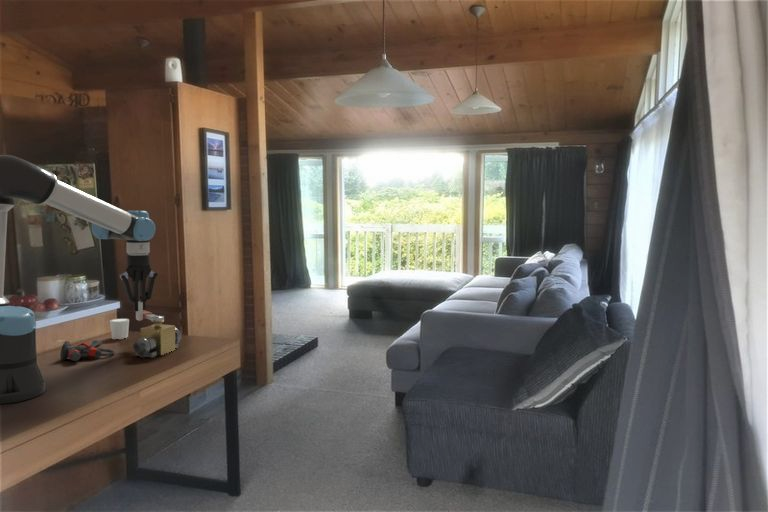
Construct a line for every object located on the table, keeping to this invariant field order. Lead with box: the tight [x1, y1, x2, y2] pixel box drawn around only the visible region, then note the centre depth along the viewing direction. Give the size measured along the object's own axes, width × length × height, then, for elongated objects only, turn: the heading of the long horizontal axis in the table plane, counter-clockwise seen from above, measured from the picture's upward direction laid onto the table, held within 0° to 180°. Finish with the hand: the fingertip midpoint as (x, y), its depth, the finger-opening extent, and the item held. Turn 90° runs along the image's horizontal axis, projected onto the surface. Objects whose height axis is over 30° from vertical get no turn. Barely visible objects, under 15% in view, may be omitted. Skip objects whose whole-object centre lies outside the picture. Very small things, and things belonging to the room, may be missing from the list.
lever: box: [143, 309, 165, 324], centre depth 198 cm, size 16×4×2 cm, turn 48°
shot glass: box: [109, 318, 130, 340], centre depth 214 cm, size 7×7×7 cm
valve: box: [60, 339, 115, 362], centre depth 192 cm, size 6×26×15 cm
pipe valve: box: [132, 322, 182, 359], centre depth 195 cm, size 18×8×11 cm, turn 165°
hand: (139, 319), depth 199 cm, fingers closed
